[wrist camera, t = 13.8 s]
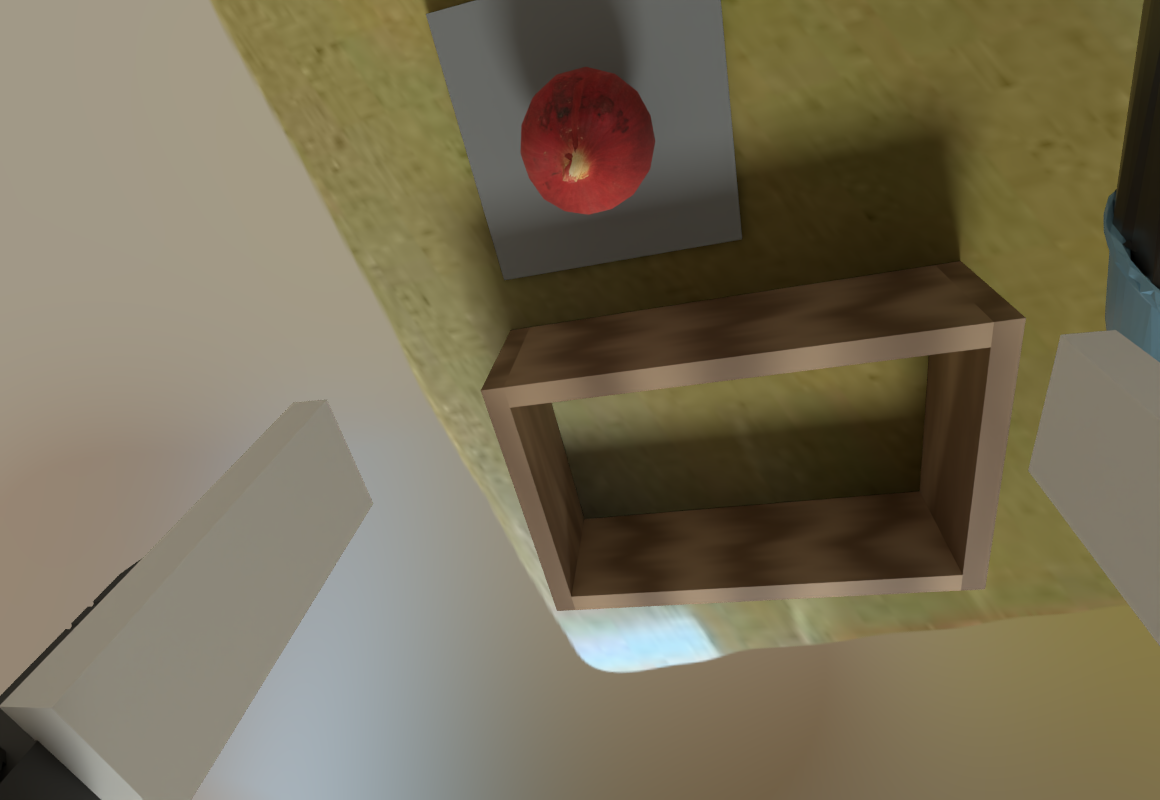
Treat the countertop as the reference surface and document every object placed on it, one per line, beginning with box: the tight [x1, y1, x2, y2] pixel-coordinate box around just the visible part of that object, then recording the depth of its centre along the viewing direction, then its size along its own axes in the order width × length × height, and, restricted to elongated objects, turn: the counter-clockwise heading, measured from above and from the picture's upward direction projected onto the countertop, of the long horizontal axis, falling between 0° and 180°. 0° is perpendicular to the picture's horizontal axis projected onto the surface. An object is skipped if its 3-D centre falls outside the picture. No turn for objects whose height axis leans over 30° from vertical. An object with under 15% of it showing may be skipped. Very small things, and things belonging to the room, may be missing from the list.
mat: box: [426, 0, 742, 280], centre depth 31 cm, size 13×13×1 cm
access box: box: [481, 261, 1026, 611], centre depth 36 cm, size 24×16×7 cm
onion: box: [520, 67, 655, 215], centre depth 27 cm, size 6×6×8 cm
